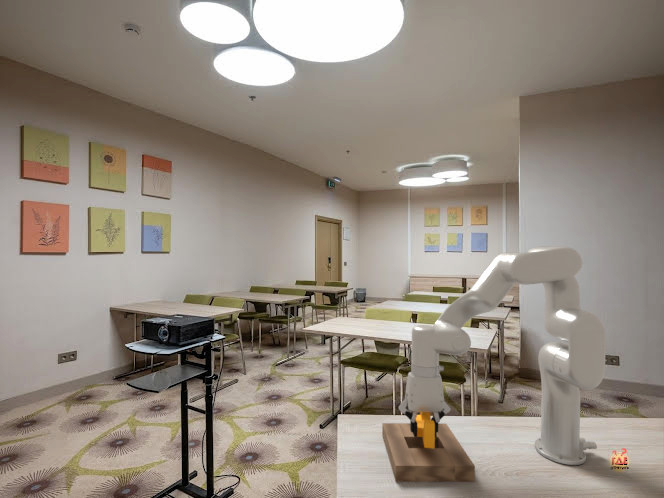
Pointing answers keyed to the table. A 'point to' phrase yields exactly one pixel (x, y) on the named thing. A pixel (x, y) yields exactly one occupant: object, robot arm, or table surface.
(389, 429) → the cutout shelf
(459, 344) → the robot arm
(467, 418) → the table surface
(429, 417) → the orange curved block
